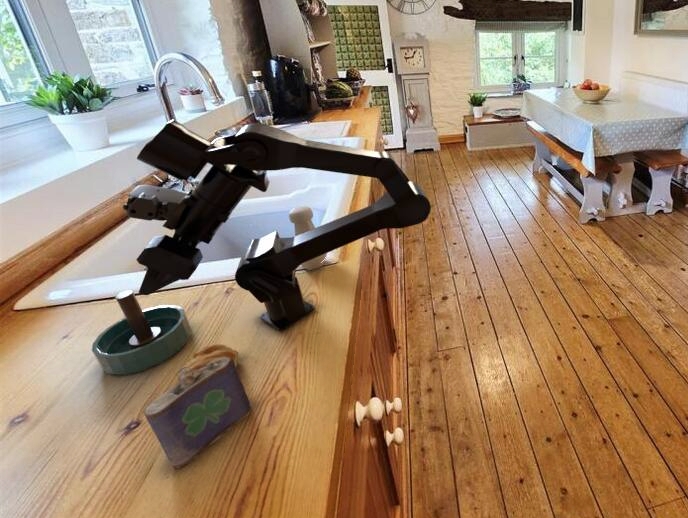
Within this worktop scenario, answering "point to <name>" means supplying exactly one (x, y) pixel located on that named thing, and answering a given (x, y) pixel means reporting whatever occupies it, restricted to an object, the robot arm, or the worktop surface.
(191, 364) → the pastry
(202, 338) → the worktop surface
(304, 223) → the salt shaker
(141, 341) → the brown wooden peg
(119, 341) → the bowl
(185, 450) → the flask
